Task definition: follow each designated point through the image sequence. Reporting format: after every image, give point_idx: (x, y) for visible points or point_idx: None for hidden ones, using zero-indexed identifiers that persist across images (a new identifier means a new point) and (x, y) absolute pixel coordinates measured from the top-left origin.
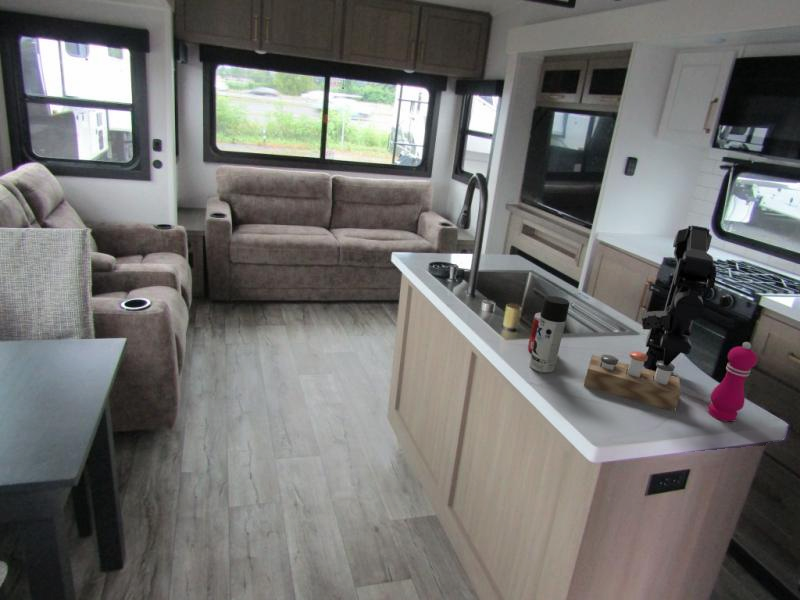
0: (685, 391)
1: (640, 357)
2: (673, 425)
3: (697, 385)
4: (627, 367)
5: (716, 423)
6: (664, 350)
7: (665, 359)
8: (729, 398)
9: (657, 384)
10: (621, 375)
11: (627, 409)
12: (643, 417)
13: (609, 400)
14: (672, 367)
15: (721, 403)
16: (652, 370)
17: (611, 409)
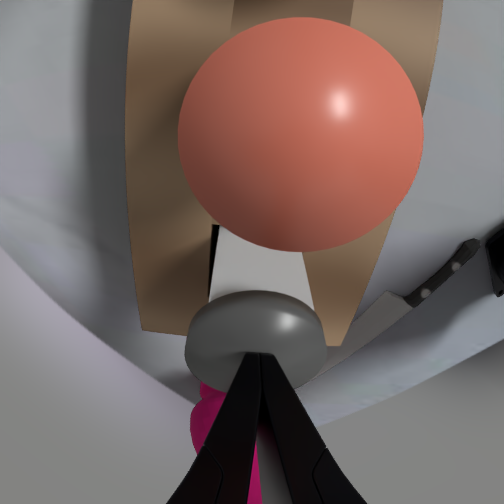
0: (364, 320)
1: (206, 153)
2: (56, 251)
3: (418, 347)
4: None
5: (172, 361)
6: (284, 453)
7: (226, 396)
8: (193, 440)
9: (178, 244)
10: (174, 8)
11: (54, 88)
12: (34, 154)
13: (91, 4)
14: (223, 386)
15: (194, 412)
16: (497, 235)
17: (22, 33)
